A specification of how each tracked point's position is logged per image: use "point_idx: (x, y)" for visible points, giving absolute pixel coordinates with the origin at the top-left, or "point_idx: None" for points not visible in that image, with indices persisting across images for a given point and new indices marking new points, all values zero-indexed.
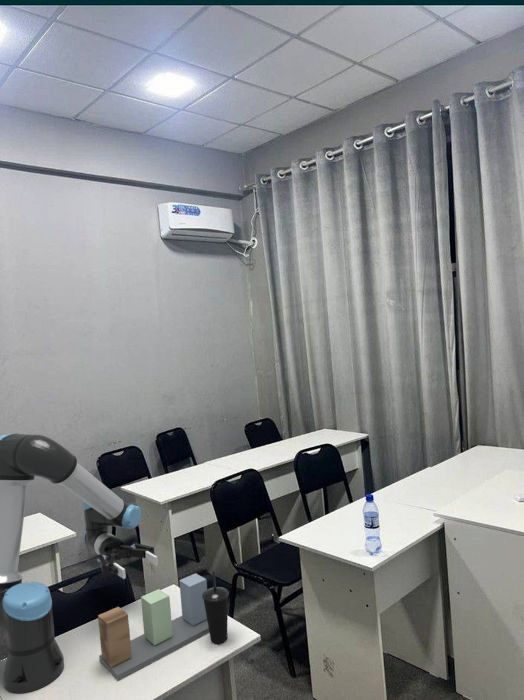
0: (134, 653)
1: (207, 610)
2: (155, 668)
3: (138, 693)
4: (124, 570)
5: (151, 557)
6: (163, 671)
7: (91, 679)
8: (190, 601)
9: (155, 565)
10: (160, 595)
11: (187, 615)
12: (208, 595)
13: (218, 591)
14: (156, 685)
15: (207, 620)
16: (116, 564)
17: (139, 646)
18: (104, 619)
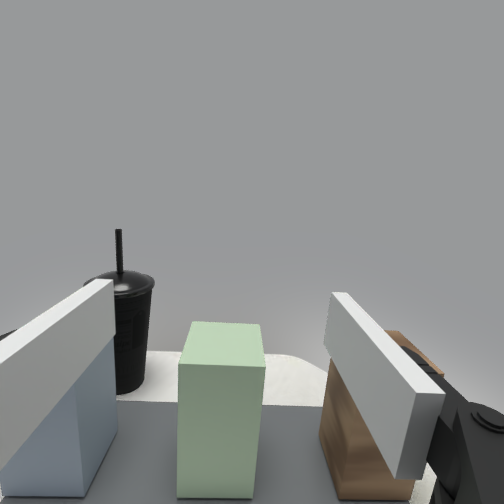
0: (306, 448)
1: (149, 310)
2: (275, 398)
3: (323, 372)
4: (334, 298)
5: (84, 320)
6: (266, 383)
7: (428, 469)
8: (112, 366)
9: (112, 335)
10: (208, 335)
11: (102, 437)
12: (143, 278)
13: (123, 270)
14: (290, 367)
15: (143, 341)
16: (398, 358)
17: (284, 468)
18: (410, 346)
